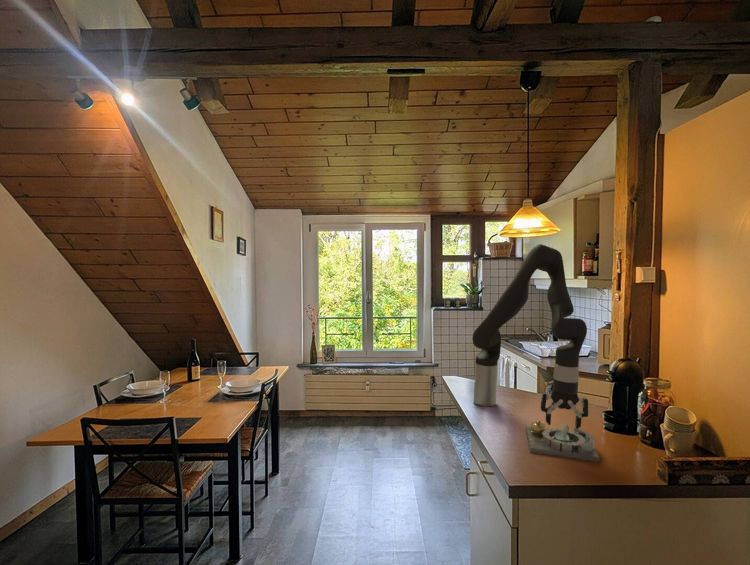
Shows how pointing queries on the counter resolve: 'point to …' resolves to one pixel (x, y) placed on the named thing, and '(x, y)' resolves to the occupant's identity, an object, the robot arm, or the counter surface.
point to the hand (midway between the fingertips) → (562, 426)
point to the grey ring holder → (561, 443)
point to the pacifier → (563, 434)
